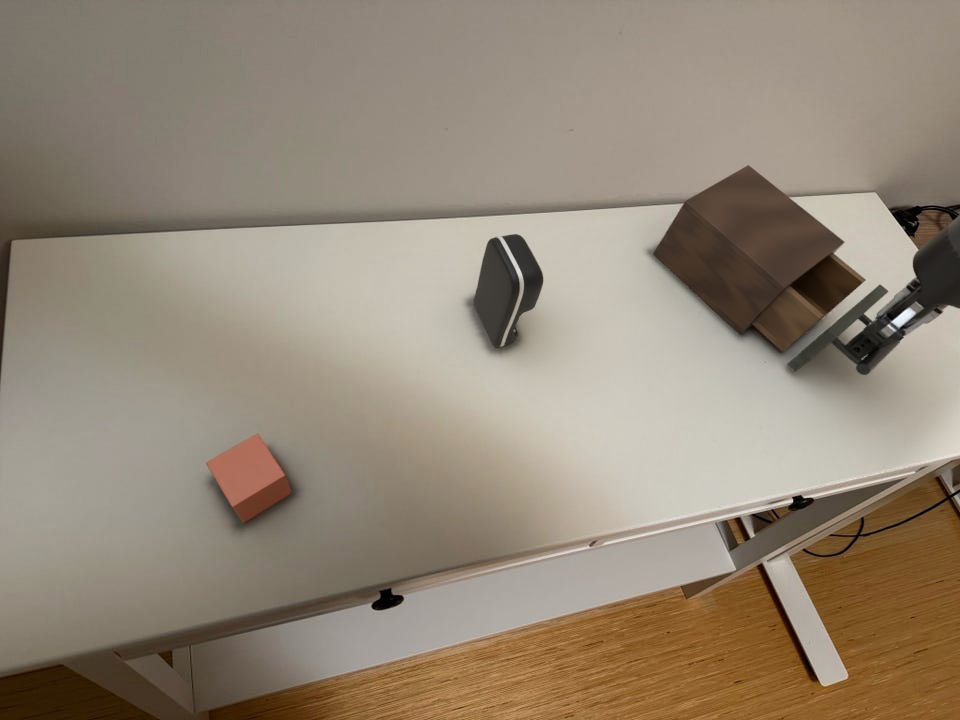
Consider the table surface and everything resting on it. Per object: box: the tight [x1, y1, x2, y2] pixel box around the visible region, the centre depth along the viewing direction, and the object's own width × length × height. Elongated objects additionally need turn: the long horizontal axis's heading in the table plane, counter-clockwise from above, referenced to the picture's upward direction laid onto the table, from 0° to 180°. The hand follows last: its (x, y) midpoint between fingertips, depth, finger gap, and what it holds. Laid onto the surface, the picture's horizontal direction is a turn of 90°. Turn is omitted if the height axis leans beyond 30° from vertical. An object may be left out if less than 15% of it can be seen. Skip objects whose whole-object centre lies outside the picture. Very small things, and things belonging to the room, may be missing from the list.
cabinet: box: [652, 164, 845, 335], centre depth 71 cm, size 15×13×9 cm
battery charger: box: [473, 233, 544, 348], centre depth 60 cm, size 7×4×11 cm, turn 22°
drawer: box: [752, 253, 901, 376], centre depth 68 cm, size 18×11×7 cm, turn 39°
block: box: [205, 433, 292, 524], centre depth 50 cm, size 5×5×5 cm
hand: (854, 350), depth 66 cm, fingers closed
